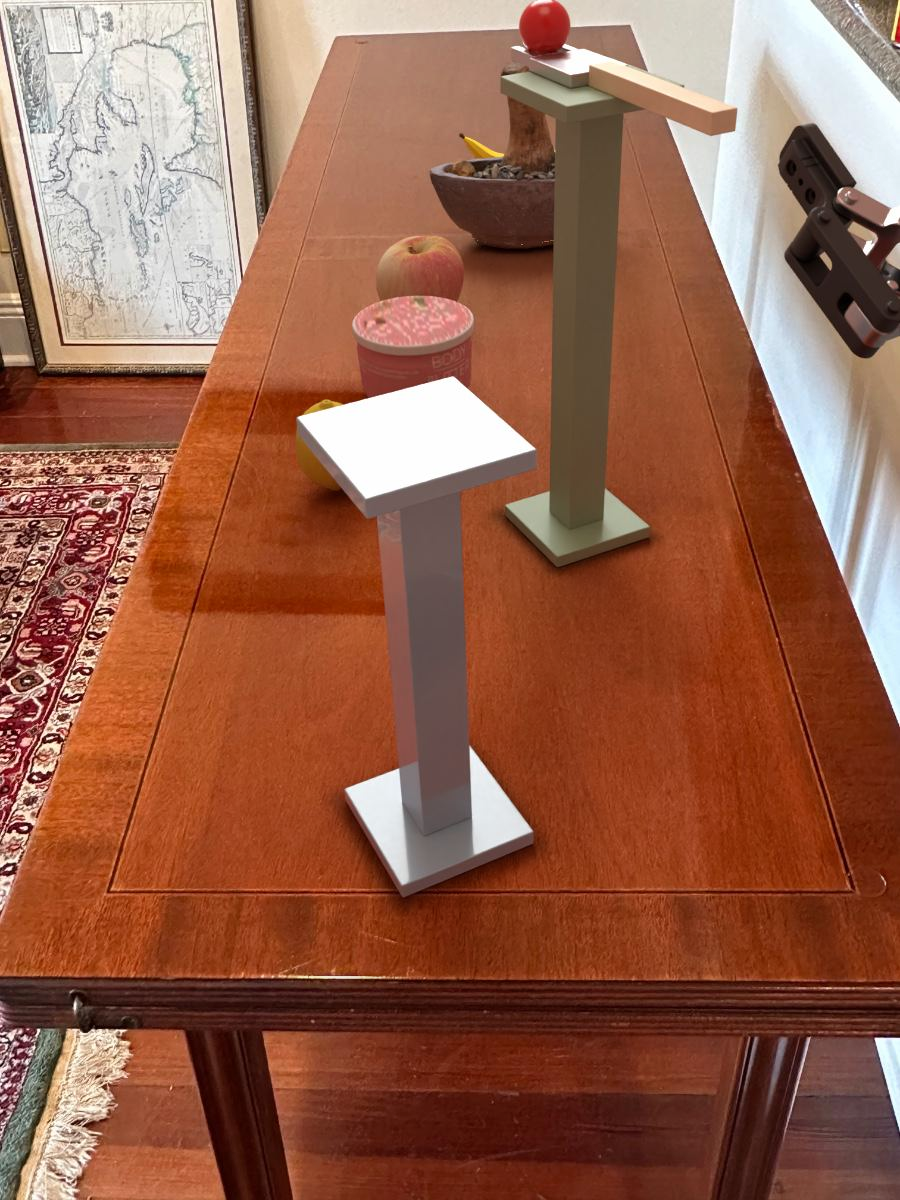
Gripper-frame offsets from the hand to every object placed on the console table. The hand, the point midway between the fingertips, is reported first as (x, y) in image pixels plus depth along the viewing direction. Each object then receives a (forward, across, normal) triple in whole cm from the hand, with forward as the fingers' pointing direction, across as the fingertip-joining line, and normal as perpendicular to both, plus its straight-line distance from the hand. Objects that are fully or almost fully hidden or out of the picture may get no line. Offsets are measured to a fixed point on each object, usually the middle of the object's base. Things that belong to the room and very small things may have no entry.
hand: (870, 123), depth 53 cm
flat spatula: (+16, 0, +13) cm, 21 cm away
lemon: (+15, +14, +49) cm, 53 cm away
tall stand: (+3, 0, +42) cm, 42 cm away
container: (+23, +2, +54) cm, 59 cm away
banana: (+65, -38, +78) cm, 108 cm away
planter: (+48, -25, +69) cm, 88 cm away
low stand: (-16, +22, +31) cm, 41 cm away
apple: (+37, -6, +62) cm, 73 cm away
